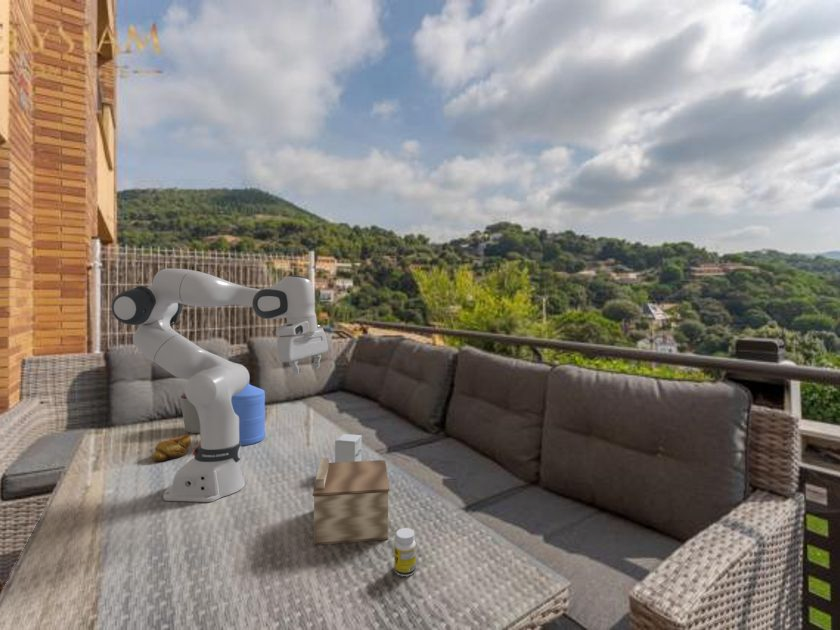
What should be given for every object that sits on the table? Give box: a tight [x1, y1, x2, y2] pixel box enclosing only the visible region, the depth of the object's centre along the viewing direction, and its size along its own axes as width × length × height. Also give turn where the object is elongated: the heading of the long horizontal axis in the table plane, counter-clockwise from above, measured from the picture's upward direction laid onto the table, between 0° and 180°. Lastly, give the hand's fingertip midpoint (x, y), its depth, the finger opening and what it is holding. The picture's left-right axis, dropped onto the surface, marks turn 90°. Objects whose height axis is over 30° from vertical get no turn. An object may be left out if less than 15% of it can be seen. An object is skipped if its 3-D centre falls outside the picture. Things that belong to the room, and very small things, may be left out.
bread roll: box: [151, 434, 192, 462], centre depth 152 cm, size 13×10×8 cm
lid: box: [312, 457, 390, 497], centre depth 106 cm, size 19×19×3 cm
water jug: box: [231, 374, 266, 447], centre depth 171 cm, size 16×16×28 cm
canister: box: [178, 392, 200, 434], centre depth 184 cm, size 18×18×21 cm
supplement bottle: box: [393, 527, 417, 577], centre depth 88 cm, size 5×5×8 cm
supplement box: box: [334, 433, 363, 463], centre depth 138 cm, size 7×7×13 cm
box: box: [313, 491, 389, 546], centre depth 107 cm, size 18×18×12 cm
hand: (307, 371), depth 123 cm, fingers open, 8 cm apart
